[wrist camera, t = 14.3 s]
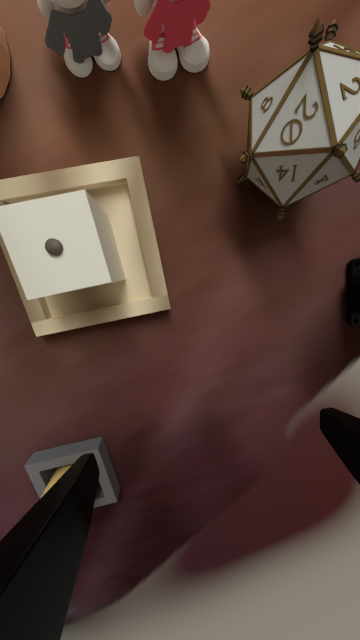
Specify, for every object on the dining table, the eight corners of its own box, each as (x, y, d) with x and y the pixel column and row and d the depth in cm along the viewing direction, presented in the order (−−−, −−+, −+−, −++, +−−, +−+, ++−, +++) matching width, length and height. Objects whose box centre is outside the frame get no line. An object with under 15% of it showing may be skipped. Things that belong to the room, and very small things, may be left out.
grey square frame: (102, 436, 21) (97, 448, 19) (120, 487, 22) (117, 501, 21) (34, 452, 20) (24, 465, 19) (57, 502, 22) (49, 518, 20)
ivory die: (108, 215, 16) (83, 188, 11) (126, 279, 17) (111, 282, 12) (42, 229, 15) (-15, 207, 10) (64, 292, 17) (23, 301, 12)
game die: (254, 207, 20) (290, 263, 14) (200, 130, 16) (216, 161, 10) (355, 118, 16) (479, 144, 9) (317, -28, 11) (506, -173, 5)
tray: (140, 166, 16) (138, 155, 14) (169, 306, 18) (170, 308, 17) (-6, 192, 15) (-24, 183, 14) (46, 331, 18) (36, 336, 16)
